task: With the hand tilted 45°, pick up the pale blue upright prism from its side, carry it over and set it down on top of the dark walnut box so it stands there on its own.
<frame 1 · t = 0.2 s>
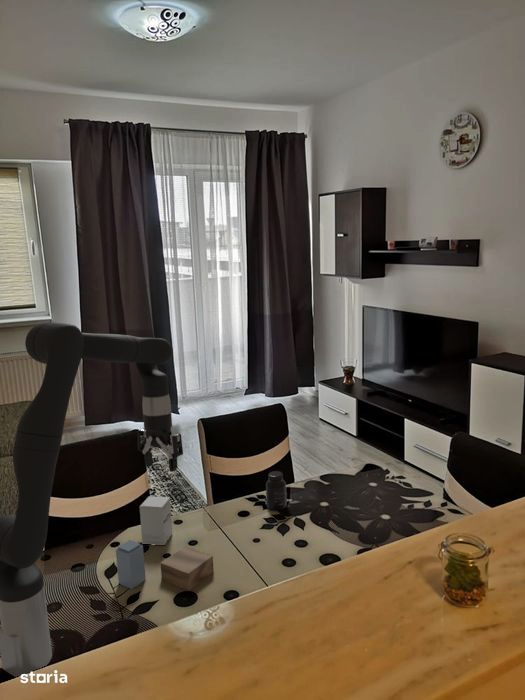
hand: (161, 468, 155), 29 cm above the table, tool pointing down, fingers open, 8 cm apart
walnut box: (187, 576, 154), on the table
pale blue upright prism: (132, 581, 152), on the table
supplement bottle: (276, 507, 193), on the table
supplement box: (157, 540, 174), on the table
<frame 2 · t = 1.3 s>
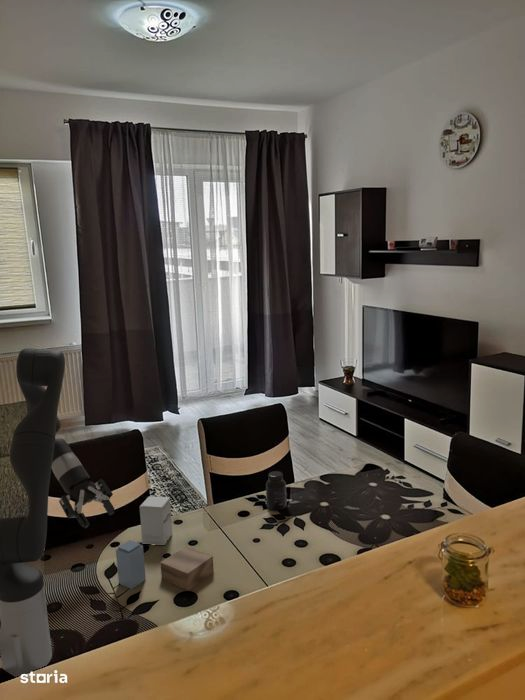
hand: (100, 519, 156), 15 cm above the table, tool tilted 45°, fingers open, 8 cm apart
nothing on the table moved.
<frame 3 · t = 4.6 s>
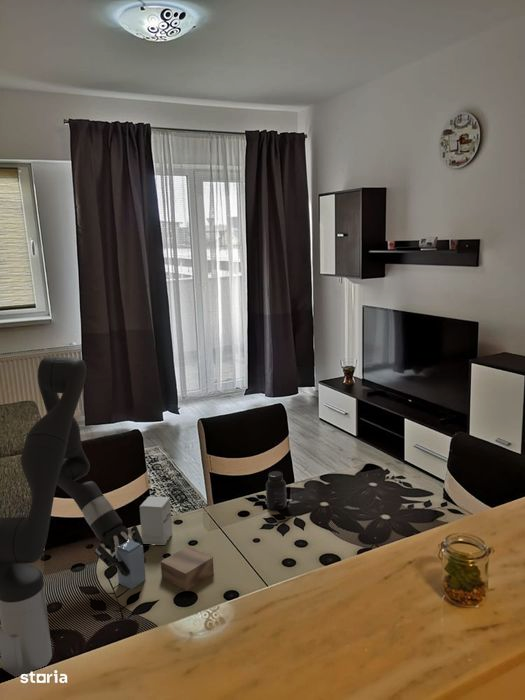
hand: (136, 569, 150), 4 cm above the table, tool tilted 45°, fingers closed on pale blue upright prism, 5 cm apart
pale blue upright prism: (132, 581, 152), on the table, touching gripper
everything else where it was.
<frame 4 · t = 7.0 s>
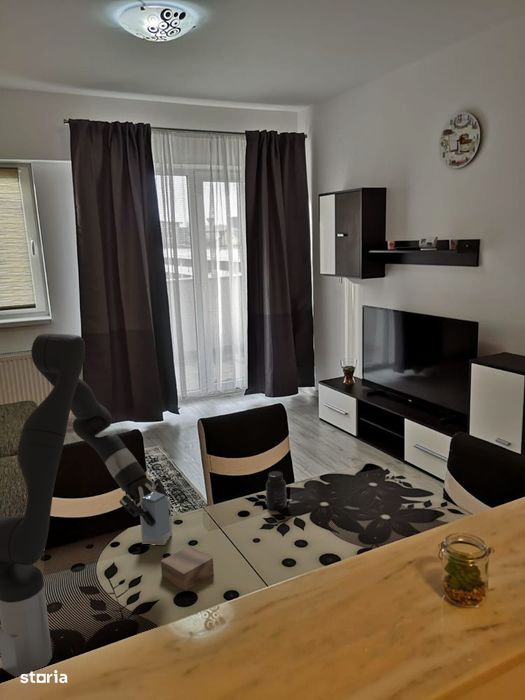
hand: (161, 520, 149), 17 cm above the table, tool tilted 45°, fingers closed on pale blue upright prism, 5 cm apart
pale blue upright prism: (156, 533, 151), point 13 cm above the table, touching gripper
everything else where it was.
when the fingers open (10 cm above the table, at t = 9.7 s): pale blue upright prism stays where it is, resting on walnut box.
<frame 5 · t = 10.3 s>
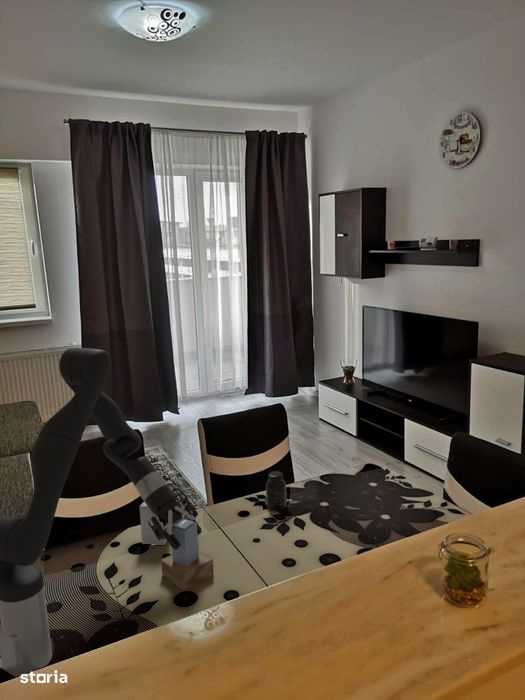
hand: (189, 540, 151), 10 cm above the table, tool tilted 45°, fingers open, 8 cm apart
walnut box: (188, 576, 154), on the table, touching pale blue upright prism
pale blue upright prism: (186, 559, 153), point 5 cm above the table, touching walnut box
everything else where it was.
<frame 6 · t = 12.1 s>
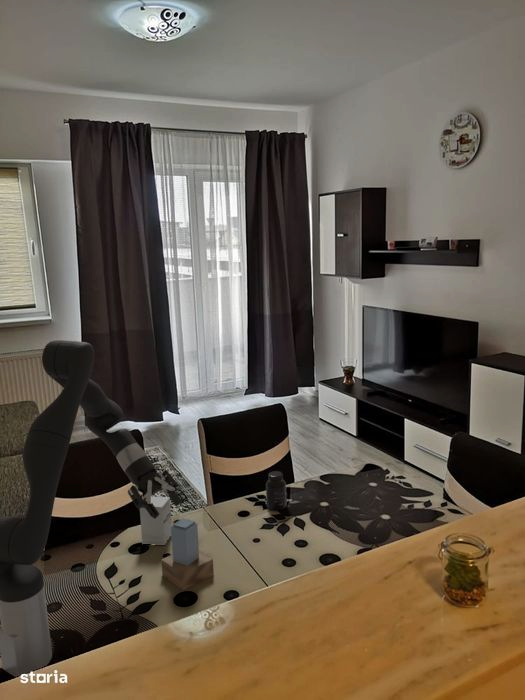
hand: (168, 510, 154), 18 cm above the table, tool tilted 45°, fingers open, 8 cm apart
walnut box: (188, 576, 154), on the table
pale blue upright prism: (186, 559, 153), point 5 cm above the table
everything else where it was.
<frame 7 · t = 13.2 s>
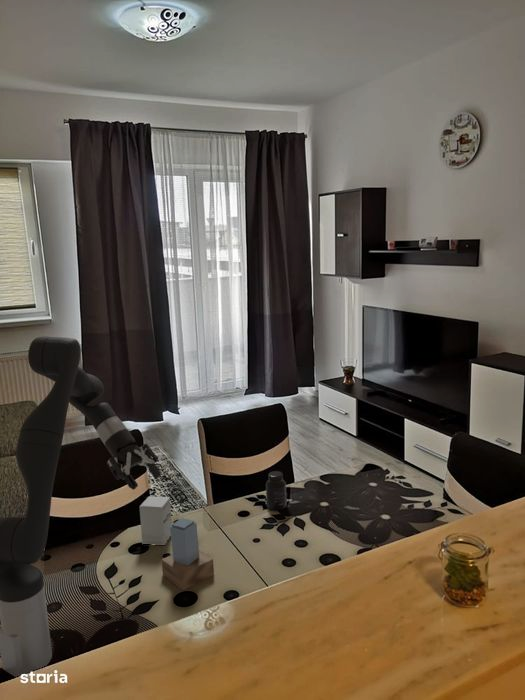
hand: (147, 482, 156), 25 cm above the table, tool tilted 45°, fingers open, 8 cm apart
nothing on the table moved.
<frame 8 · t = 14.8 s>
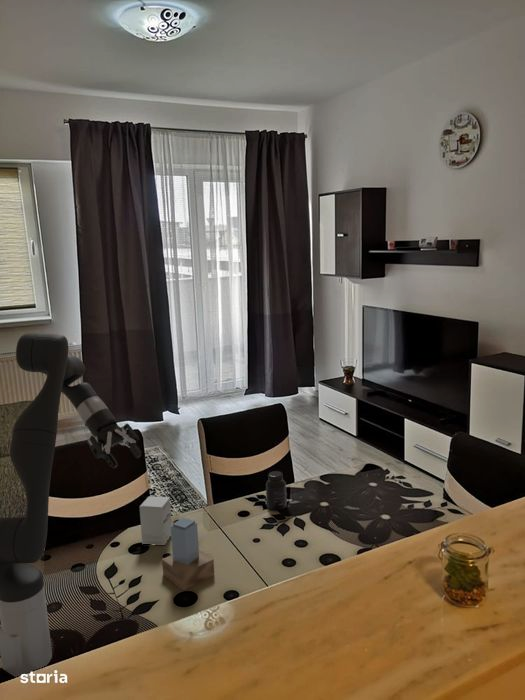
hand: (128, 461, 155), 31 cm above the table, tool tilted 45°, fingers open, 8 cm apart
walnut box: (188, 576, 154), on the table, touching pale blue upright prism
pale blue upright prism: (186, 558, 153), point 5 cm above the table, touching walnut box
everything else where it was.
at the end: pale blue upright prism inside the target area on the walnut box (0.4 cm from its centre), point 5.1 cm above the walnut box's base; pale blue upright prism tilted 2°; the gripper is holding nothing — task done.
